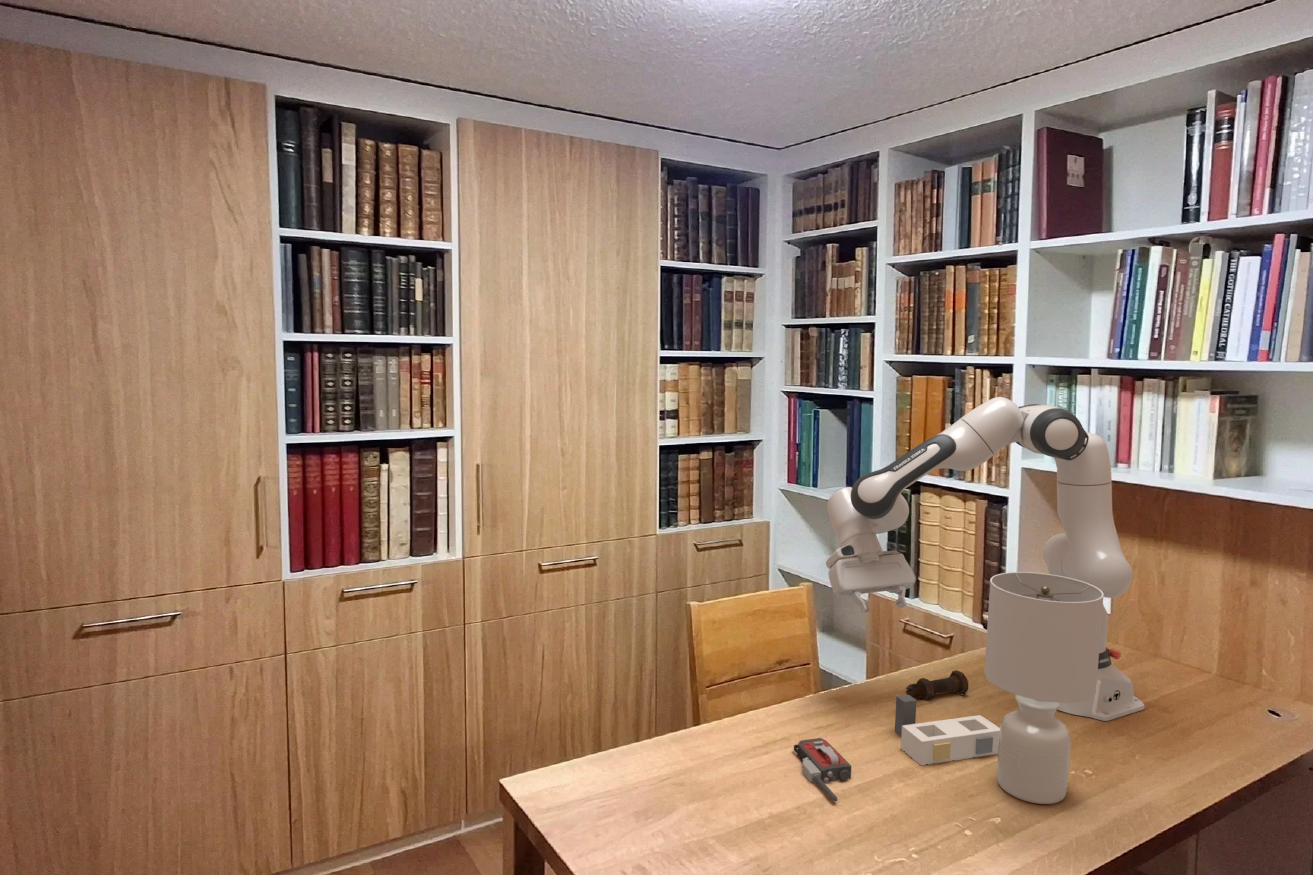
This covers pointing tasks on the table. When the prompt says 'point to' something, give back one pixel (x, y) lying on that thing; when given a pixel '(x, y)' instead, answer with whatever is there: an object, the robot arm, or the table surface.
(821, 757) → the walkie-talkie
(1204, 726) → the table surface
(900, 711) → the plug
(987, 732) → the white socket block
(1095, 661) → the lamp
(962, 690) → the bolt
